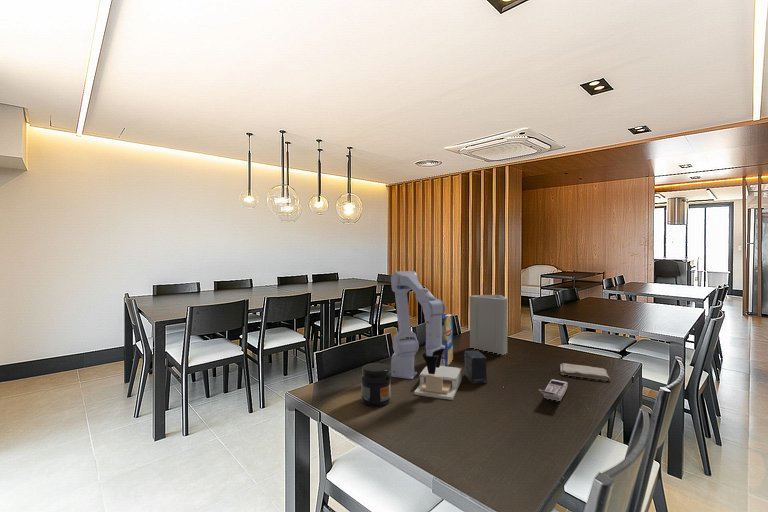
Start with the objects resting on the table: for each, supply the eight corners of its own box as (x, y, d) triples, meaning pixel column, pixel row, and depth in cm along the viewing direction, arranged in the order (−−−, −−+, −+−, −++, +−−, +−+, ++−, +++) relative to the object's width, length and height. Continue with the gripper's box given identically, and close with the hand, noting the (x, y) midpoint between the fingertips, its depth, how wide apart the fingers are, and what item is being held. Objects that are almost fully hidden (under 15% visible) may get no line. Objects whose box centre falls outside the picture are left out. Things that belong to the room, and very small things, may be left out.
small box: (488, 383, 141) (487, 357, 141) (471, 384, 140) (471, 358, 140) (479, 374, 151) (478, 349, 151) (464, 375, 151) (463, 350, 151)
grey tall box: (515, 349, 189) (515, 296, 188) (503, 355, 178) (503, 299, 178) (482, 343, 202) (482, 293, 201) (469, 348, 191) (469, 296, 191)
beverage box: (453, 360, 171) (452, 314, 170) (446, 367, 161) (445, 318, 161) (439, 358, 174) (439, 313, 174) (431, 365, 164) (431, 317, 164)
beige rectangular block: (420, 389, 132) (420, 374, 132) (431, 375, 147) (431, 361, 147) (447, 393, 128) (447, 378, 128) (455, 378, 143) (455, 364, 143)
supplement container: (397, 400, 126) (396, 367, 125) (375, 410, 118) (375, 374, 118) (376, 392, 133) (376, 360, 133) (354, 401, 126) (354, 367, 125)
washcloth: (559, 368, 160) (559, 361, 160) (606, 373, 152) (606, 366, 152) (560, 376, 149) (560, 369, 149) (610, 383, 142) (610, 375, 142)
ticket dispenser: (414, 394, 131) (414, 380, 131) (427, 376, 150) (427, 364, 150) (452, 400, 126) (452, 385, 126) (461, 380, 145) (461, 368, 144)
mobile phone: (537, 389, 121) (552, 368, 141) (537, 406, 121) (552, 383, 141) (557, 393, 117) (569, 371, 137) (556, 411, 117) (569, 387, 137)
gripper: (440, 338, 122) (440, 378, 122) (448, 329, 135) (448, 365, 135) (420, 337, 124) (420, 375, 124) (430, 328, 138) (430, 363, 138)
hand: (434, 370), depth 130 cm, fingers open, 7 cm apart
